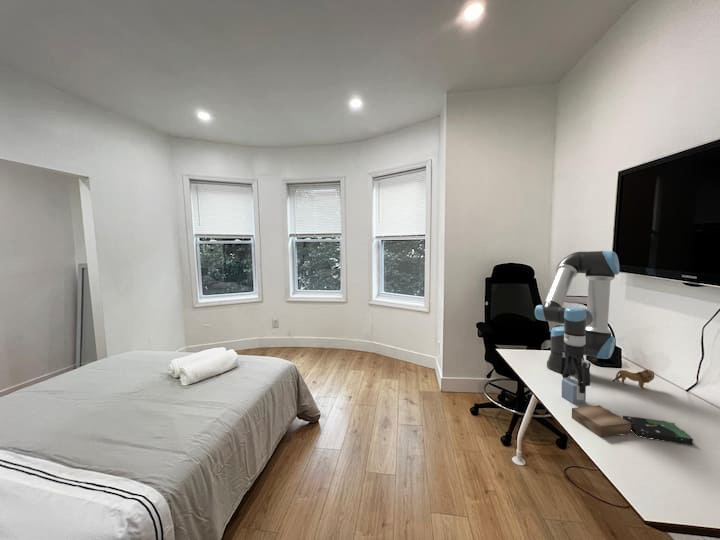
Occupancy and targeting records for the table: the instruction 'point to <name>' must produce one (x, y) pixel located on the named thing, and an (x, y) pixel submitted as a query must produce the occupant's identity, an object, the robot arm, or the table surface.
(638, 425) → the disk drive
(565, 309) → the robot arm
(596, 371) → the table surface
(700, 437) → the table surface
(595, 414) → the walnut base
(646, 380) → the lion figurine
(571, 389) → the slate block
